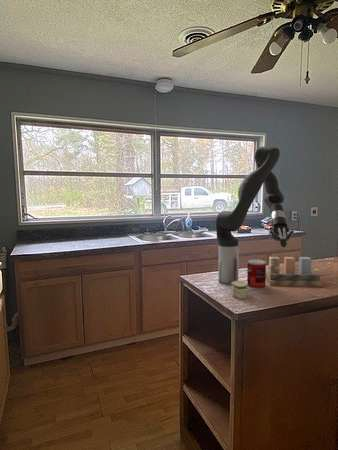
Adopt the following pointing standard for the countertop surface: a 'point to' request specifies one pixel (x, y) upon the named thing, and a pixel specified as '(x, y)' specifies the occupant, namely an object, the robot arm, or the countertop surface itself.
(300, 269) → the slate key
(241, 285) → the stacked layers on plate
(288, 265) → the salmon orange block
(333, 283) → the countertop surface
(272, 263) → the maple key
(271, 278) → the wooden board with bar
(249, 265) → the canned food
